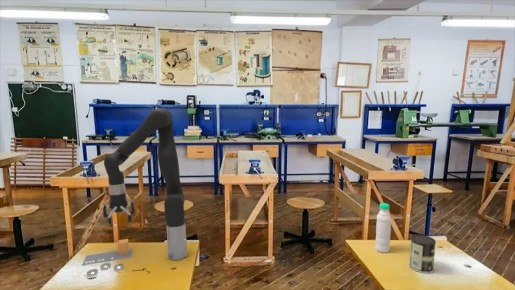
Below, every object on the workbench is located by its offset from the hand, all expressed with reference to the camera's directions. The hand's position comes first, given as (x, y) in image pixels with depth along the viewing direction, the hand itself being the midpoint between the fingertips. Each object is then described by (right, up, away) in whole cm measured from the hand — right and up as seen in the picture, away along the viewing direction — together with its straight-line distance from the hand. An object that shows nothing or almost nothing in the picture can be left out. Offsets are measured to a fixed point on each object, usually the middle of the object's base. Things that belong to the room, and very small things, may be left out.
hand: (120, 223), depth 157 cm
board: (-6, -18, 0) cm, 19 cm away
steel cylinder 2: (-2, -20, -11) cm, 22 cm away
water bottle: (+135, -16, +6) cm, 136 cm away
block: (0, -16, +4) cm, 17 cm away
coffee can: (+146, -18, -11) cm, 148 cm away
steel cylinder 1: (-5, -20, -16) cm, 26 cm away
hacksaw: (+15, -19, -3) cm, 25 cm away
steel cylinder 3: (+5, -20, -11) cm, 23 cm away
